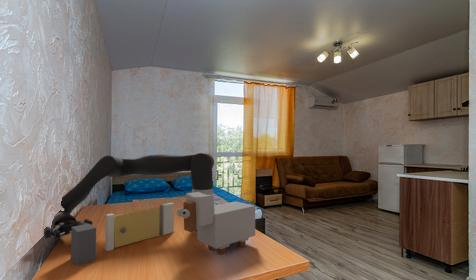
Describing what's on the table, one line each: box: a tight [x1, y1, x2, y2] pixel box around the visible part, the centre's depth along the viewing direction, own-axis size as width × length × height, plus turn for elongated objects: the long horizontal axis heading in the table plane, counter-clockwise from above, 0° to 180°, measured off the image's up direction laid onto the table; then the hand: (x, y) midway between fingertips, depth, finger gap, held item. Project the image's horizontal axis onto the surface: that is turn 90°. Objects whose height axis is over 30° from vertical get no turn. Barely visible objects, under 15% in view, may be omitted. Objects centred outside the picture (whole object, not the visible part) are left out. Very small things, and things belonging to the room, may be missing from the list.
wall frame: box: [104, 202, 175, 252], centre depth 93 cm, size 26×2×12 cm, turn 137°
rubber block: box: [70, 224, 97, 267], centre depth 77 cm, size 5×7×10 cm
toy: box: [176, 192, 256, 255], centre depth 83 cm, size 11×28×20 cm, turn 132°
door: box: [114, 206, 160, 249], centre depth 91 cm, size 17×3×11 cm, turn 137°
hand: (74, 232), depth 84 cm, fingers open, 8 cm apart
